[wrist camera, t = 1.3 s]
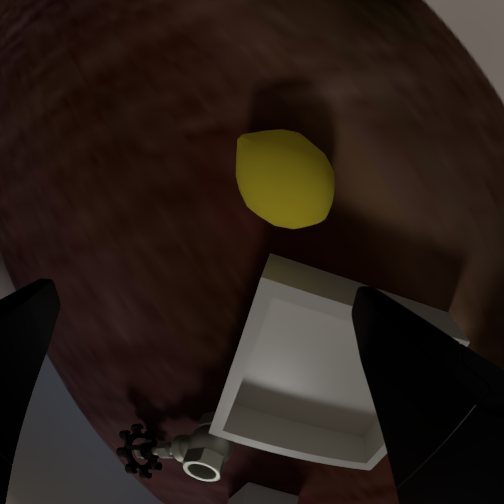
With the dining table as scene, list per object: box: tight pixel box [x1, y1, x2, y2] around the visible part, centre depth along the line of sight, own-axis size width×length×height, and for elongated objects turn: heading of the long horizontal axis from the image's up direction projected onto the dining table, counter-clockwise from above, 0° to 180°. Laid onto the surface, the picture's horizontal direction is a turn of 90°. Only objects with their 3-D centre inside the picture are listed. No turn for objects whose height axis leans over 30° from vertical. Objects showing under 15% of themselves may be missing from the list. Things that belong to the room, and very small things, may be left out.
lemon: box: [236, 129, 335, 229], centre depth 18 cm, size 7×5×5 cm
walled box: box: [209, 253, 470, 470], centre depth 22 cm, size 15×15×4 cm
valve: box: [116, 411, 233, 481], centre depth 27 cm, size 7×7×12 cm
